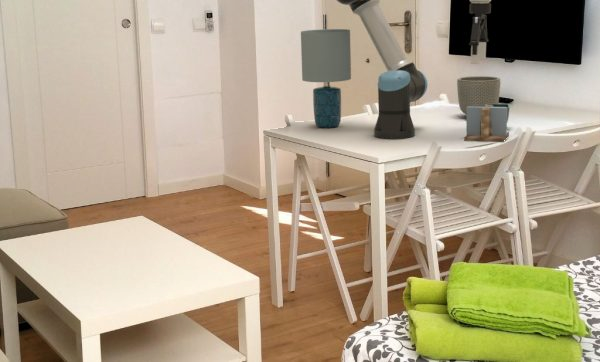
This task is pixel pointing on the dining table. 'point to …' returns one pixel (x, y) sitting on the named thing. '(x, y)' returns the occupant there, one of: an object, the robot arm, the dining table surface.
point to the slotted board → (496, 117)
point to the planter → (477, 91)
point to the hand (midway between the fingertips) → (478, 62)
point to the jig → (486, 129)
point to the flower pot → (502, 106)
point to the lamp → (326, 70)
